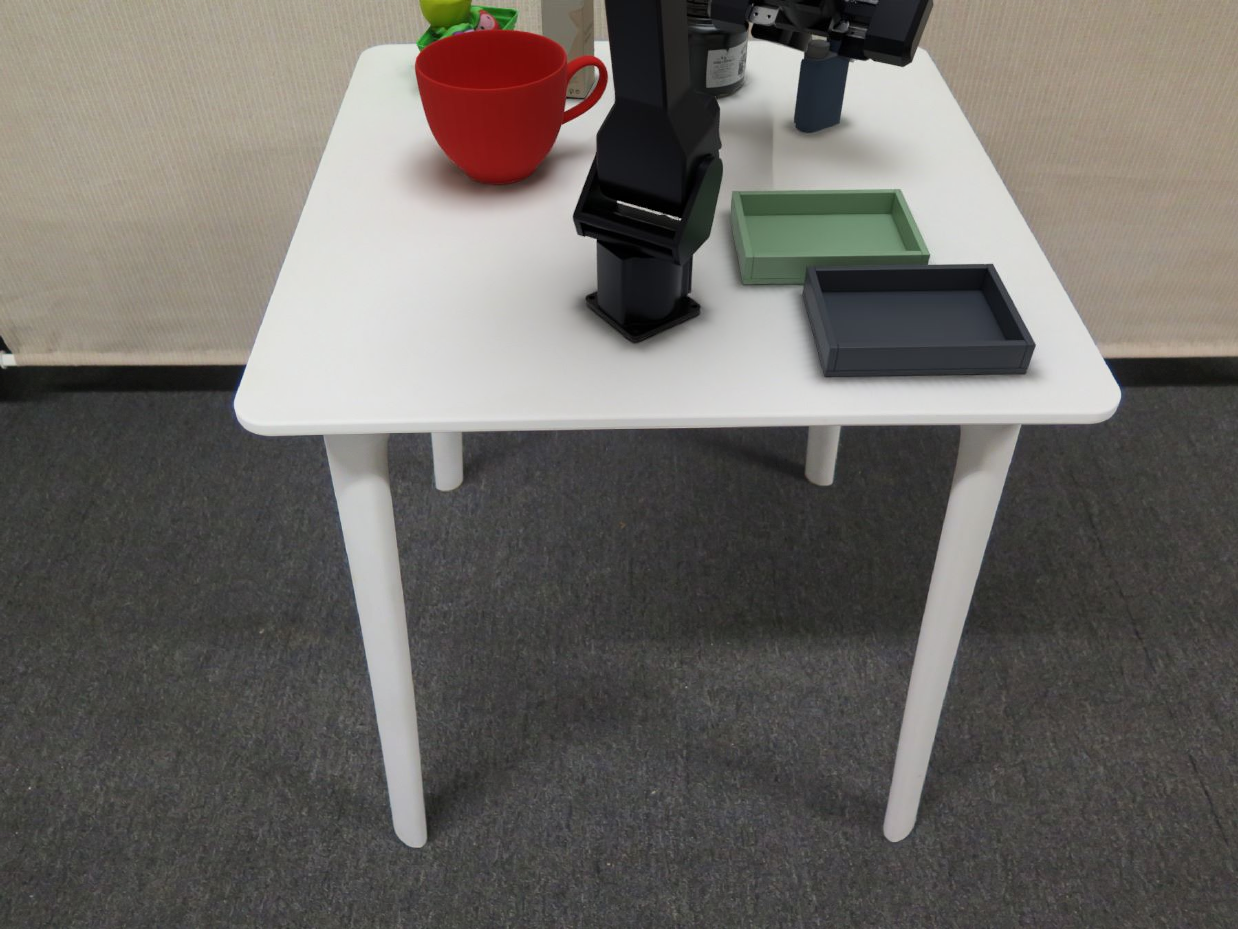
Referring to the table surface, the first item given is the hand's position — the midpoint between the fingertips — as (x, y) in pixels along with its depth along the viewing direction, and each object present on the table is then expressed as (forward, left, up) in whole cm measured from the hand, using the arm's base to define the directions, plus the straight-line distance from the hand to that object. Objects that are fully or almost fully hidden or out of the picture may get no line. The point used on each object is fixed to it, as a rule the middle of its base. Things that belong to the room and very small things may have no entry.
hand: (831, 52), depth 95 cm
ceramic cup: (-29, +10, -7) cm, 31 cm away
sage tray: (-17, -17, -7) cm, 25 cm away
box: (-16, +21, -7) cm, 27 cm away
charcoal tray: (-20, -29, -7) cm, 36 cm away
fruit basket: (-23, +30, -7) cm, 38 cm away
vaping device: (-1, -1, -7) cm, 7 cm away
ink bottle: (-4, +14, -7) cm, 16 cm away
